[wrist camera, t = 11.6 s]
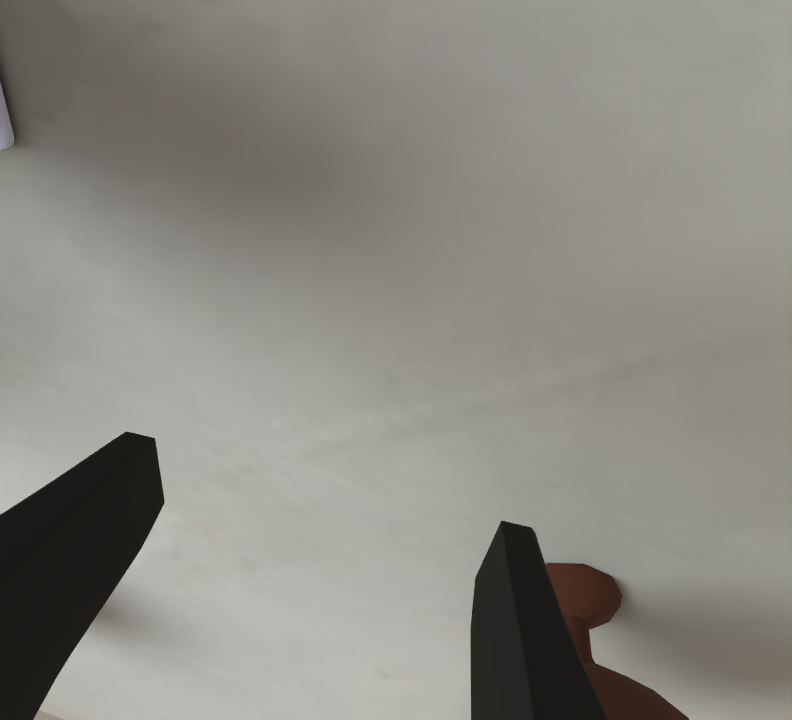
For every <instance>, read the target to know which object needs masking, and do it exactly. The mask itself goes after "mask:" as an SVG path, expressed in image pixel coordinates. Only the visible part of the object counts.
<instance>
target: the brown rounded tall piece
mask: <svg viewBox="0 0 792 720" xmlns="http://www.w3.org/2000/svg"><path fill="white" fill-rule="evenodd" d="M546 568H547V571H548V574H549V577H550V580H551V582H552V585H553V588H554V591H555V593H556V596H557V599H558V602H559V604H560V607H561V609H562V612H563V615H564V617H565V620H566V622H567V625H568V627H569V630H570V632H571V634H572V637H573V639H574V642H575V644H576V647H577V649H578V652H579V654H580V656H581V659H582V661H583V663H584V666H585V668H586V670H587V672H588V675H589V677H590V679H591V681H592V684H593V686H594V688H595V690H596V692H597V694H598V697H599V699H600V701H601V703H602V705H603V707H604V709H605V712H606V714H607V716H608V718H609V720H689V719H688V717H687V716H685V715H684V714H683V713H682V712H680V711H679V710H678V709H677V708H675V707H674V706H673V705H671V704H670V703H669V702H668V701H666V700H665V699H664V698H663V697H661V696H660V695H659V694H658V693H656V692H655V691H654V690H652V689H650V688H648V687H646V686H644V685H642V684H640V683H638V682H636V681H634V680H632V679H630V678H629V677H627V676H624V675H622V674H620V673H617V672H615V671H612V670H610V669H608V668H605V667H603V666H601V665H598V664H595V662H594V660H593V658H592V654H591V645H590V636H589V629H592V628H595V627H597V626H600V625H602V624H605V623H607V622H609V621H610V620H611V619H612V617H613V616H614V614H615V613H616V611H617V610H618V609H619V607H620V605H621V599H622V595H621V593H620V592H619V590H618V588H617V586H616V584H615V582H614V580H613V578H612V577H611V576H609V575H606V574H604V573H602V572H600V571H597V570H595V569H593V568H591V567H589V566H586V565H584V564H549V563H548V564H546Z"/></svg>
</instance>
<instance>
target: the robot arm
mask: <svg viewBox="0 0 792 720" xmlns="http://www.w3.org/2000/svg"><path fill="white" fill-rule="evenodd" d="M13 143H14V134H13V130H12V126H11V122H10V118H9V114H8V110H7V106H6V102H5V98H4V95H3V91H2V87H1V83H0V150H3V149H6V148H9V147H11V146H13ZM164 503H165V502H164V495H163V489H162V482H161V475H160V469H159V462H158V455H157V449H156V442H155V438H152V437H147V436H143V435H139V434H135V433H130V432H125V433H123V434H122V435H120V436H119V437H117V438H116V439H114V440H113V441H111V442H109V443H108V444H107V445H105V446H104V447H102V448H101V449H99V450H98V451H96V452H95V453H93V454H92V455H90V456H89V457H87V458H86V459H85V460H83V461H82V462H80V463H79V464H77V465H76V466H74V467H73V468H71V469H70V470H68V471H67V472H65V473H64V474H62V475H61V476H59V477H58V478H56V479H55V480H53V481H52V482H50V483H49V484H47V485H46V486H44V487H43V488H41V489H40V490H38V491H37V492H35V493H33V494H32V495H30V496H29V497H27V498H26V499H24V500H23V501H21V502H20V503H18V504H17V505H15V506H13V507H12V508H10V509H9V510H7V511H6V512H4V513H2V514H1V515H0V720H33V719H34V717H35V715H36V713H37V711H38V710H39V708H40V706H41V704H42V703H43V701H44V699H45V697H46V695H47V693H48V692H49V690H50V688H51V686H52V684H53V683H54V681H55V679H56V677H57V676H58V674H59V672H60V671H61V669H62V668H63V666H64V664H65V663H66V661H67V660H68V658H69V656H70V655H71V653H72V652H73V650H74V649H75V647H76V646H77V644H78V643H79V641H80V640H81V638H82V637H83V635H84V634H85V632H86V631H87V629H88V628H89V626H90V625H91V623H92V622H93V620H94V619H95V617H96V616H97V614H98V613H99V611H100V610H101V608H102V607H103V605H104V604H105V602H106V601H107V599H108V598H109V596H110V595H111V593H112V592H113V590H114V589H115V588H116V586H117V585H118V583H119V582H120V580H121V578H122V577H123V575H124V574H125V572H126V571H127V569H128V568H129V566H130V565H131V563H132V562H133V560H134V559H135V557H136V556H137V554H138V553H139V551H140V550H141V548H142V546H143V544H144V542H145V540H146V538H147V536H148V535H149V533H150V531H151V529H152V527H153V525H154V523H155V521H156V519H157V517H158V515H159V513H160V511H161V509H162V507H163V505H164ZM471 720H609V718H608V716H607V714H606V712H605V709H604V707H603V705H602V703H601V701H600V699H599V697H598V694H597V692H596V690H595V688H594V686H593V684H592V681H591V679H590V677H589V675H588V672H587V670H586V668H585V666H584V663H583V661H582V659H581V656H580V654H579V652H578V649H577V647H576V644H575V642H574V639H573V637H572V634H571V632H570V630H569V627H568V625H567V622H566V620H565V617H564V615H563V612H562V609H561V607H560V604H559V602H558V599H557V596H556V593H555V591H554V588H553V585H552V582H551V580H550V577H549V574H548V571H547V568H546V565H545V562H544V559H543V556H542V553H541V550H540V547H539V544H538V540H537V537H536V534H535V532H534V530H533V529H532V528H531V527H526V526H522V525H518V524H514V523H509V522H505V521H501V523H500V525H499V527H498V530H497V532H496V534H495V536H494V538H493V541H492V543H491V545H490V547H489V549H488V552H487V554H486V556H485V558H484V560H483V563H482V565H481V567H480V569H479V571H478V574H477V576H476V579H475V589H474V599H473V609H472V620H471Z"/></svg>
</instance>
